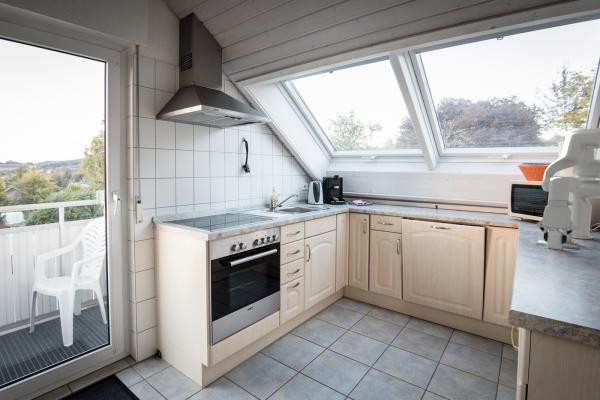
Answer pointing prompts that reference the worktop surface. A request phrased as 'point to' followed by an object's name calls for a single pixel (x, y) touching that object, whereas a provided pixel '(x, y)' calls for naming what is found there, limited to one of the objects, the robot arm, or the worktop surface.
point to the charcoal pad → (569, 246)
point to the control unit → (569, 236)
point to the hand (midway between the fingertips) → (554, 241)
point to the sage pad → (541, 242)
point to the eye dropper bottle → (554, 239)
